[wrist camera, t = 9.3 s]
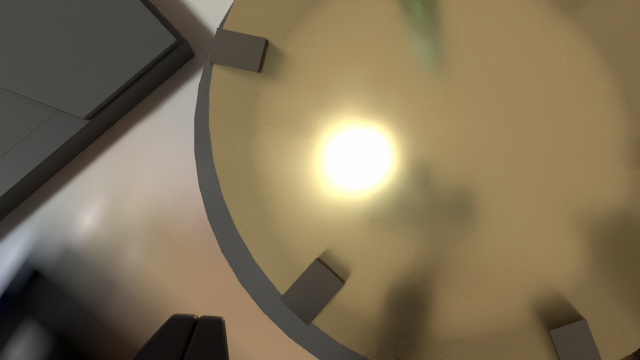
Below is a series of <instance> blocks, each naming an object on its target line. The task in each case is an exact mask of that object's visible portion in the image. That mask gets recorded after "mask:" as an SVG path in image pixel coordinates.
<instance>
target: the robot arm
mask: <svg viewBox="0 0 640 360" xmlns="http://www.w3.org/2000/svg"><path fill="white" fill-rule="evenodd" d="M130 360H229V353H228V345H227V336H226V328H225V320H224V318H223V317H218V316H206V315H204V316H201V317H200V318H199V317H198V316H197V315H193V314H180V313H177V314H174V315H172V316H171V317H170V318H169V319H168V320H167V321H166V322H165V323H164V324H163V325H162V326H161V327H160V328H159V329H158V331H157V332H156V333H155V334H154V335H153V336H152V337H151V338H150V339H149V340H148V341H147V342H146V343H145V344H144V345H143V347H142V348H141V349H140V350H139V351H138V352H137V353H136V354H135V355H134V356H133V357H132V358H131V359H130Z"/></svg>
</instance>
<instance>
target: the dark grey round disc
mask: <svg viewBox="0 0 640 360" xmlns="http://www.w3.org/2000/svg"><path fill="white" fill-rule="evenodd" d="M234 1H235V0H234ZM233 3H234V2H233ZM233 3H232V5H233ZM232 5H231V7H232ZM231 7H230V8H229V10H228V12H227V14H226V15H225V17H224V19H223V20H222V22H221V24H220V26H219V28H220V29H223V26H224V23H225V21H226V19H227V17H228V14H229V12H230V10H231ZM213 42H214V40H213ZM213 42H212V45H211V47H210V49H209V52H208V54H207V58H206V62H205V65H204V69H203V72H202V76H201V80H200V83H199V89H198V96H197V103H196V111H195V118H194V152H195V160H196V167H197V175H198V182H199V188H200V191H201V195H202V199H203V202H204V206H205V210H206V213H207V217H208V220H209V223H210V225H211V227H212V230H213V232H214V234H215V237H216V239H217V241H218V244H219V246H220V249H221V251H222V253H223V255H224V256H225V258H226V260H227V261H228V263H229V265H230V266H231V268H232V270H233V272H234V273H235V275H236V277H237V278H238V280H239V282H240V283H241V285H242V286H243V287H244V288H245V290H246V291H247V292H248V293H249V295H250V296H251V297H252V299H253V300H254V301H255V302H256V304H257V305H258V306H259V307H260V309H261V310H262V311H263V312H264V313H265V314H266V315H267V316H268V317H269V318H270V319H271V320H272V321H273V322H274V323H275V324H276V325H277V326H278V327H279V328H280V329H281V330H282V331H283V332H284V333H285V334H286V335H287V336H288V337H289V338H291V339H292V340H293V341H295V342H296V343H298V344H299V345H300V346H302V347H303V348H304V349H306V350H307V351H308V352H310V353H311V354H312V355H314V356H315V357H316V358H318V359H319V360H369V359H367V358H365V357H364V356H362V355H360V354H358V353H357V352H355V351H353V350H351V349H349V348H348V347H346V346H344V345H342V344H341V343H339V342H337V341H336V340H334V339H333V338H332V337H330V336H329V335H328V334H326V333H325V332H324V331H322V330H321V329H320V328H318V327H317V326H316V325H314V324H313V323H312V322H311V323H310V324H309V325H308V326H307V325H306V324H305V323H304V322H303V321H302V320H301V319H300V318H299V317H298V316H296V315H295V314H294V313H293V312H292V311H291V310H290V309H289V308H288V307H287V306H286V305H285V304H284V303H283V302H282V301H281V300H280V298H281V296H282V294H281V293H280V292H279V291H278V290H277V289H276V287H275V286H274V285H273V283H272V282H271V281H270V279H269V278H268V277H267V276H266V274H265V273H264V272H263V270H262V269H261V268H260V267H259V265H258V264H257V263H256V261H255V260H254V258H253V256H252V255H251V253H250V251H249V249H248V248H247V246H246V244H245V243H244V241H243V239H242V237H241V236H240V234H239V232H238V231H237V229H236V226H235V224H234V222H233V219H232V217H231V214H230V212H229V210H228V207H227V205H226V202H225V200H224V198H223V195H222V191H221V187H220V184H219V180H218V176H217V172H216V169H215V165H214V161H213V153H212V145H211V138H210V130H209V91H210V84H211V77H212V70H213V69H212V67H211V65H210V63H209V62H208V61H209V57H210V53H211V50H212V46H213Z"/></svg>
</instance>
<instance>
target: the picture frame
mask: <svg viewBox="0 0 640 360" xmlns="http://www.w3.org/2000/svg"><path fill="white" fill-rule="evenodd" d="M194 56H195V54H194V52H193V50H192V49H191V47H190V45H189V44H188V42H187V40H186V39H185V38H184V37H183V36H182V35H181V34H180V33H179V32H178V31H177V30H176V29H175V28H174V27H173V25H172V24H171V23H170V22H169V21H168V20H167V19H166V18H165V17H164V16H163V15H162V14H161V13H160V12H159V11H158V10H157V8H156V7H155V6H154V5H153V4H152V3H151V2H150V1H149V0H0V221H1V220H2V219H3V218H4V217H6V216H7V215H8V214H9V213H10V212H11V211H13V210H14V209H15V208H16V207H17V206H19V205H20V204H21V203H22V202H23V201H24V200H26V199H27V198H28V197H29V196H30V195H31V194H33V193H34V192H35V191H36V190H37V189H38V188H40V187H41V186H42V185H43V184H44V183H46V182H47V181H48V180H49V179H50V178H51V177H53V176H54V175H55V174H56V173H57V172H58V171H60V170H61V169H62V168H63V167H64V166H65V165H67V164H68V163H69V162H70V161H71V160H73V159H74V158H75V157H76V156H77V155H78V154H80V153H81V152H82V151H83V150H84V149H85V148H87V147H88V146H89V145H90V144H91V143H93V142H94V141H95V140H96V139H97V138H98V137H100V136H101V135H102V134H103V133H104V132H105V131H107V130H108V129H109V128H110V127H111V126H112V125H114V124H115V123H116V122H117V121H118V120H120V119H121V118H122V117H123V116H124V115H125V114H127V113H128V112H129V111H130V110H131V109H132V108H134V107H135V106H136V105H137V104H138V103H139V102H141V101H142V100H143V99H144V98H145V97H147V96H148V95H149V94H150V93H151V92H152V91H154V90H155V89H156V88H157V87H158V86H159V85H161V84H162V83H163V82H164V81H165V80H167V79H168V78H169V77H170V76H171V75H172V74H174V73H175V72H176V71H177V70H178V69H179V68H181V67H182V66H183V65H184V64H185V63H186V62H188V61H189V60H190V59H191V58H192V57H194Z"/></svg>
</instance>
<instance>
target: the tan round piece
mask: <svg viewBox="0 0 640 360" xmlns="http://www.w3.org/2000/svg"><path fill="white" fill-rule="evenodd" d="M208 62H209V63H210V65H211V67H212V69H213V70H212V77H211V84H210V91H209V130H210V138H211V145H212V153H213V161H214V165H215V169H216V172H217V176H218V180H219V184H220V187H221V191H222V195H223V198H224V200H225V202H226V205H227V207H228V210H229V212H230V214H231V217H232V219H233V222H234V224H235V226H236V229H237V231H238V232H239V234H240V236H241V237H242V239H243V241H244V243H245V244H246V246H247V248H248V249H249V251H250V253H251V255H252V256H253V258H254V260H255V261H256V263H257V264H258V265H259V267H260V268H261V269H262V270H263V272H264V273H265V274H266V276H267V277H268V278H269V279H270V281H271V282H272V283H273V285H274V286H275V287H276V289H277V290H278V291H279V292H280V293H281V294H282V296H281V298H280V300H281V301H282V302H283V303H284V304H285V305H286V306H287V307H288V308H289V309H290V310H291V311H292V312H293V313H294V314H295V315H296V316H298V317H299V318H300V319H301V320H302V321H303V322H304V323H305V324H306V325H307V326H308V325H309V324H310V323H311V322H312V323H313V324H314V325H316V326H317V327H318V328H320V329H321V330H322V331H324V332H325V333H326V334H328V335H329V336H330V337H332V338H333V339H334V340H336V341H337V342H339V343H341V344H342V345H344V346H346V347H348V348H349V349H351V350H353V351H355V352H357V353H358V354H360V355H362V356H364V357H365V358H367V359H369V360H619V359H621V358H624V357H626V356H628V355H630V354H632V353H633V352H635V351H636V350H638V349H639V348H640V0H235V1H234V3H233V5H232V7H231V10H230V12H229V14H228V17H227V19H226V21H225V23H224V26H223V29H220V28H217V31H216V35H215V38H214V42H213V46H212V50H211V53H210V57H209V61H208Z"/></svg>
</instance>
